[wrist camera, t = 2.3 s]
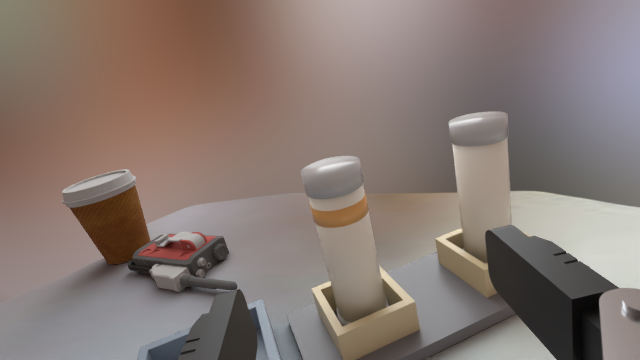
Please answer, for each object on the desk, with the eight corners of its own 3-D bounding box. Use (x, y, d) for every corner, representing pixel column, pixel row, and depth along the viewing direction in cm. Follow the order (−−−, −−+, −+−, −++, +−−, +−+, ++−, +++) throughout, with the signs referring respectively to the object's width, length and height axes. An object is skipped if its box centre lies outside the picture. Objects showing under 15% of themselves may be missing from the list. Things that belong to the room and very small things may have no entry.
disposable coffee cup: (80, 272, 51) (41, 197, 47) (128, 238, 59) (98, 172, 56) (131, 270, 48) (94, 189, 44) (174, 234, 56) (146, 164, 53)
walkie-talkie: (117, 284, 46) (233, 304, 36) (103, 255, 44) (219, 268, 35) (170, 248, 53) (278, 256, 43) (159, 222, 51) (269, 224, 42)
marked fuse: (352, 348, 25) (310, 182, 21) (333, 315, 29) (294, 168, 25) (400, 326, 26) (369, 163, 22) (376, 297, 30) (345, 152, 26)
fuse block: (321, 409, 22) (308, 368, 21) (289, 323, 31) (278, 290, 30) (589, 277, 28) (590, 239, 27) (500, 234, 36) (498, 203, 35)
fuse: (488, 286, 28) (474, 128, 24) (454, 263, 32) (437, 123, 28) (527, 268, 29) (520, 113, 25) (490, 247, 33) (479, 110, 29)
